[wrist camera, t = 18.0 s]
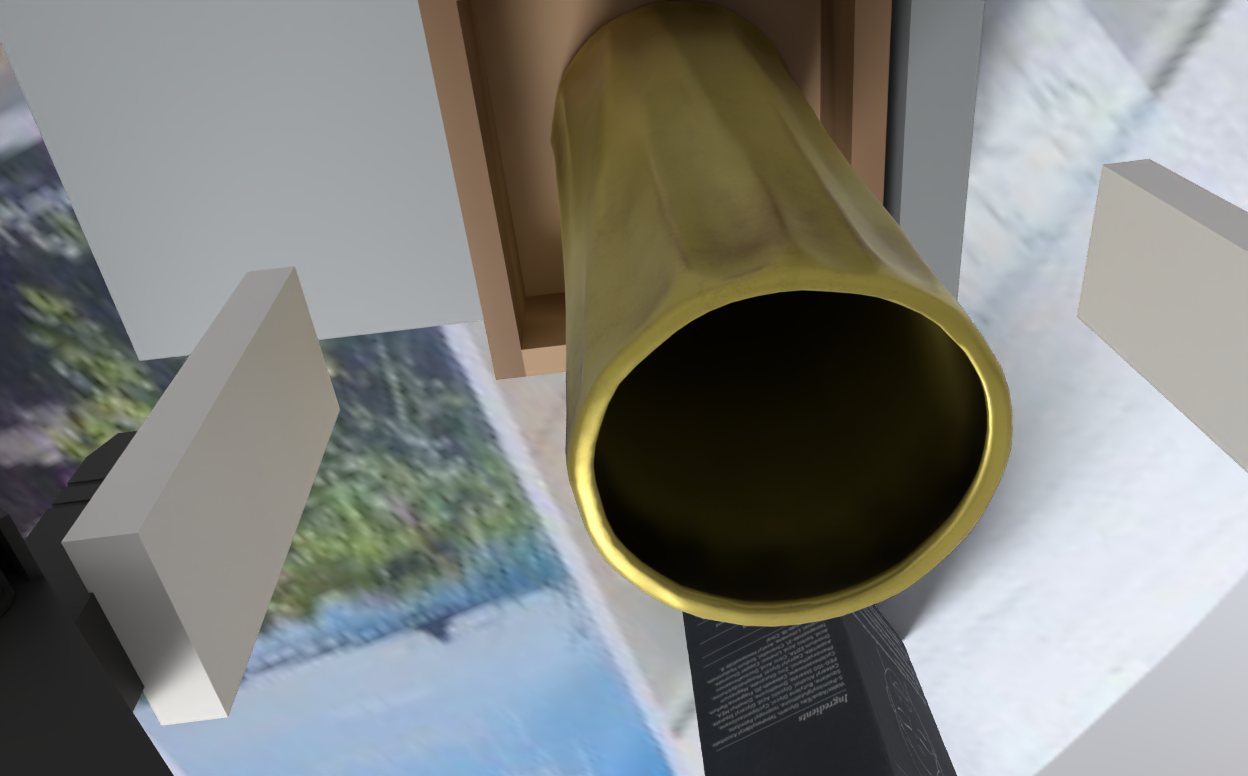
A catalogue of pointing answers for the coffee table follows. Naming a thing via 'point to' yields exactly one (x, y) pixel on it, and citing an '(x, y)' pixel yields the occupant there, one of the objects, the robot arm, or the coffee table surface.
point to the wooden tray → (522, 121)
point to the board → (350, 152)
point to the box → (811, 700)
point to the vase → (753, 339)
